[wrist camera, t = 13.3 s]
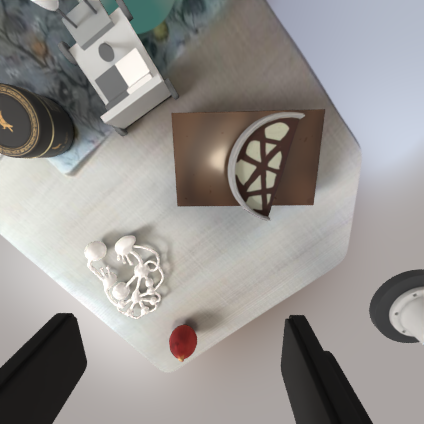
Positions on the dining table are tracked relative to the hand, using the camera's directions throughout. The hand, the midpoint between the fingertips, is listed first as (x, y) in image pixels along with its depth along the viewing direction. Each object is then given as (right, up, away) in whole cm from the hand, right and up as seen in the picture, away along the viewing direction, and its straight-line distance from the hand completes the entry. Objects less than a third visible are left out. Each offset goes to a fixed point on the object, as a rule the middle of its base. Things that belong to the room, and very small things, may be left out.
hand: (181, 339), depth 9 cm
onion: (-5, -21, +38) cm, 43 cm away
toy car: (-14, +29, +24) cm, 40 cm away
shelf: (+7, +15, +27) cm, 32 cm away
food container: (+7, +13, +22) cm, 27 cm away
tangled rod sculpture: (-15, -7, +34) cm, 38 cm away
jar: (-27, +20, +27) cm, 43 cm away
